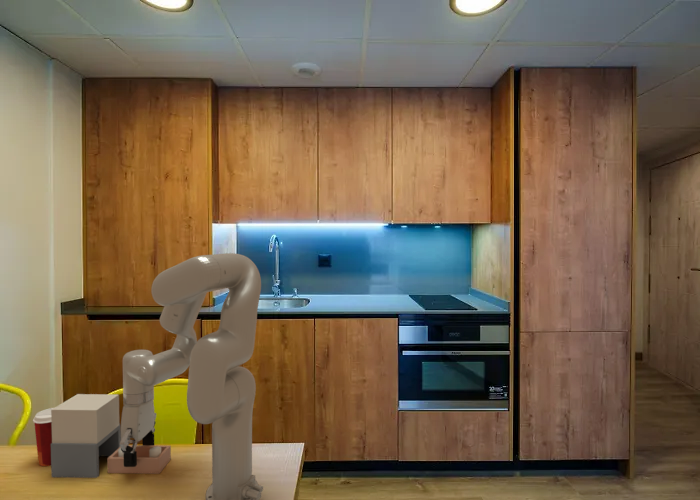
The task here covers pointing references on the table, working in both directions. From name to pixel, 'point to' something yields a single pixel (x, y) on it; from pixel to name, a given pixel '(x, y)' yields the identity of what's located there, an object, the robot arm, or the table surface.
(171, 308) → the robot arm
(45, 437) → the paper cup
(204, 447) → the table surface
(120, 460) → the tray
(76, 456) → the counter unit
